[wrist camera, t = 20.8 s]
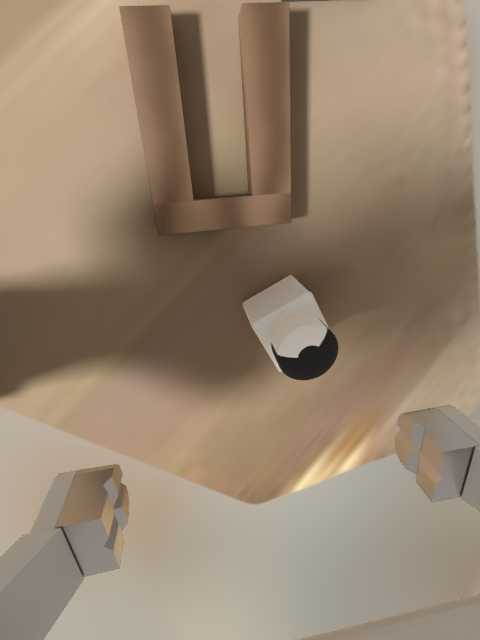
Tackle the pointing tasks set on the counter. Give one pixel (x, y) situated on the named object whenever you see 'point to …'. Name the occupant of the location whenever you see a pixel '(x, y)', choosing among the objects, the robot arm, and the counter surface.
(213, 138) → the counter surface
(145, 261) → the counter surface
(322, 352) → the white black angular body
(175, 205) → the channel board
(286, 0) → the slate mat
